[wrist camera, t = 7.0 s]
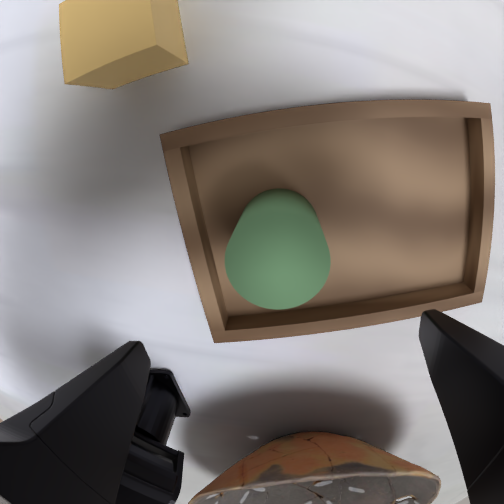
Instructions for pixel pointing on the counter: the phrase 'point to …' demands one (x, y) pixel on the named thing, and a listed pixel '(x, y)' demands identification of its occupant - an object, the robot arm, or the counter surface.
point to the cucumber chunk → (278, 251)
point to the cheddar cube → (119, 40)
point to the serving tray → (345, 207)
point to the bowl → (321, 475)
